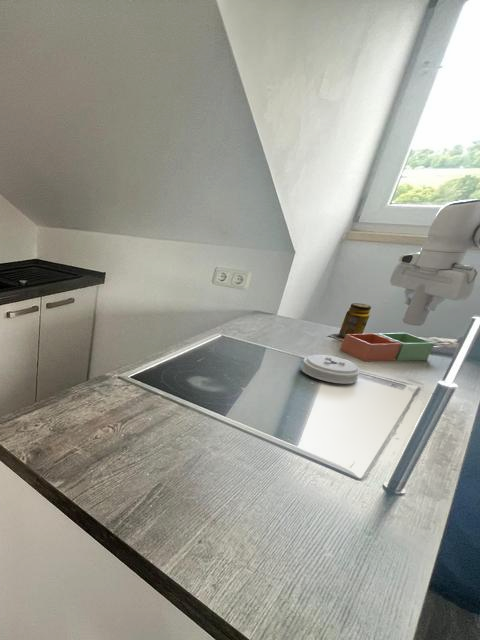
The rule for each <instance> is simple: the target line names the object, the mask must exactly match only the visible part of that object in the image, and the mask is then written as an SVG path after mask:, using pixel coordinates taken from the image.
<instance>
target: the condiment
mask: <svg viewBox="0 0 480 640" xmlns="http://www.w3.org/2000/svg"><path fill="white" fill-rule="evenodd" d="M371 309H372V306H371V305H369V304H365V303H358V302H355V303H351V304H350V307H349V309H348V310H347V311H346V313H345V316H344V318H343V321H342V324H341V327H340V330H339V332H338V333H331V334H330V333H329V334H328V336H329V337H331V338H334V339H337V340H339V341H342V342H343V341H344V338H345V335H346V334H364V331H365V328H366V326H367V323H368V321H369V318H370V313H371Z"/></svg>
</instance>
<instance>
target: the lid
mask: <svg viewBox="0 0 480 640" xmlns="http://www.w3.org/2000/svg"><path fill="white" fill-rule="evenodd" d="M302 361H303V364H302V365H301V367H300V370H301V371H302V372H303V373H304V374H306V375H308V376H309V377H312V378H315V379H316V380H317V379H318V380H320V381H325V382H329V383H335V384H353V383H356V382H357V381H358V380H359V378H358V376H359V375H360V374H361V372H362V370H361V368H360V367H358V365H357V364H355V362H353V361H350V360H348V359H345V358H342V357H338V356H332V355H327V354H312V355H309V356H306V357H304V358H303V360H302Z"/></svg>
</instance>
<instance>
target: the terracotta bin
mask: <svg viewBox="0 0 480 640" xmlns="http://www.w3.org/2000/svg"><path fill="white" fill-rule="evenodd" d="M400 346H401V344H400V343H398V342H395V341H393V340H390V339H388V338H385V337H382V336H380V335H377V333H373V332H372V333H363V334H346V335H345V338H344V341H342V344H341V346H340V349H339V350H340V351H342V352H343V353H345V354H348V355H351V356H352V357H354V358H356V359H358V360H360V361H363V362H394V361H396V360H395V357H396V355H397V353H398V351H399V348H400Z"/></svg>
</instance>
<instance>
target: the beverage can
mask: <svg viewBox="0 0 480 640" xmlns="http://www.w3.org/2000/svg"><path fill="white" fill-rule="evenodd" d="M419 285H420V286H418V287H417V289H416V290H415V292H414V294H413V296H412V299H411V301H410V303H409V305H408V306H407V308H406V310H405V312H404V314H403V317H402V319H401V320H402V323H404V324H406V325H409V326H418V327H419V326H420V327H421V326H422V325H424V324H425V322H426V320H427V318H428V316H429V314H430V312H431V311H428V310H425V309H424V307H425V305H426V304H430V303H431V302H432V301H433V300H434V299H432V298H433V296H434V295H430V294H426V293H424V290H425V287H424V286H425V285H421V284H419Z"/></svg>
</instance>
